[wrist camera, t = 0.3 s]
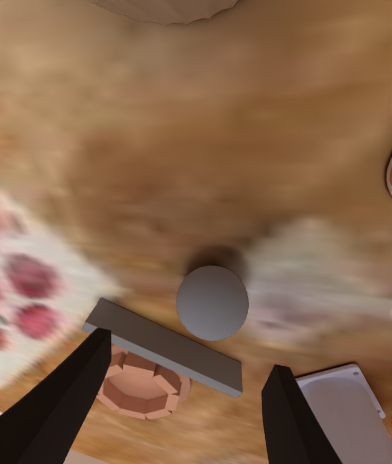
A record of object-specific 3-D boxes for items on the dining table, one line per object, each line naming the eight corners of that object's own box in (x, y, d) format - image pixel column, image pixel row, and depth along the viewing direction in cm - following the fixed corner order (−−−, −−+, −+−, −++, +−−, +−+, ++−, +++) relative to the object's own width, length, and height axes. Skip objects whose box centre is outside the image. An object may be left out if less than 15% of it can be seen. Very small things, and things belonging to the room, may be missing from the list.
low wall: (240, 363, 25) (242, 392, 23) (234, 368, 26) (235, 398, 23) (101, 297, 23) (85, 321, 21) (97, 305, 24) (81, 329, 21)
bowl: (210, 392, 28) (209, 411, 27) (134, 413, 32) (129, 431, 31) (148, 327, 25) (142, 344, 23) (70, 360, 28) (60, 376, 27)
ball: (257, 289, 21) (266, 343, 16) (203, 311, 23) (198, 366, 18) (224, 241, 19) (225, 286, 14) (169, 269, 21) (153, 317, 16)
